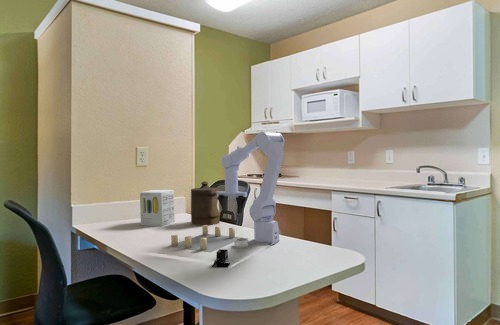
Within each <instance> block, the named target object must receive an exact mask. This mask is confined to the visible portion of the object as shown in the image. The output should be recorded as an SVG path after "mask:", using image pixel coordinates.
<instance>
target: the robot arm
mask: <svg viewBox="0 0 500 325" xmlns="http://www.w3.org/2000/svg"><path fill="white" fill-rule="evenodd" d="M285 142H286V140H285V138H284V136H283V135H282V133H280V132H267V131H266V132H265V131H260V132H258V134H255V136H254V138H253V139H251V141H249V142H248V143H247V144H246V145H244V146H243V145H242V146H241V145H240V146H239V145H238V146H237V147H236V149H235V150H233V151H231V152H230V153H229V154H227V153H226V154H224V155H223V156H222V157H221V165H222V167H223V168H224V191H223V190H222V191H221V190H219V191H218V192H217V196H219V197H217V198H218V200H219V205H220V206H221V210H222V213H223V214H224V213H227V212H228V198H229V197H235V200H236V206H237V210H236V211H237V214H242V212H243V208H244V205H245V202H246V199H247V197H248V192H247V191H239V179H238V178H239V176H238V175H239V174H238V172H239V169H240V168H239V167H240V165H241V163H242V162H243V161H245V160H247V159H248V158H249V156H250V154H251V153H253V152H255V151H256V150H257V149H260V150H261V151H262V152H263V154H264V155H265V156H266V157H267V162H266V166H265V170H264V174H263V178H262V182H261V186H260V191H259V194H258V196H257V197H256V198H254V200H253V202H252V204H251V205H250V207H249V216H250V218H251V219H252V221H253V229H254V230H253V231H254V233H253V234H254V241H255V242H259V243H269V244H267V245H268V246H273V245H274V244H277V243H278V242H280V234H279V232H280V230H279V222H278V221H277V220H274V217H275V215H276V213H277V212H276V211H277V209H276V208H277V207H276V205H277V202H276V200H275V199H274V194H275V191H276V189H277V188H276V187H277V184H278V179H279V176H280V172H281V168H282V164H283V161H284V160H283V159H284V147H285Z"/></svg>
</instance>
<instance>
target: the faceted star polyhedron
mask: <svg viewBox="0 0 500 325" xmlns="http://www.w3.org/2000/svg"><path fill="white" fill-rule="evenodd" d="M233 247H234V248H238V249H239V248H240V249H242V248H248V247H249V238H248V237H247V238H246V237H243V238H236V239H235V240H234V242H233Z"/></svg>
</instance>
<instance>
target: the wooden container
mask: <svg viewBox="0 0 500 325" xmlns="http://www.w3.org/2000/svg"><path fill="white" fill-rule="evenodd" d="M208 185H209V182H208V181H205V180H204V181H202V182H201V186H199V187H195V188H191V189H190V218H191V219H190V220H191V221H190V223H191V224H192V225H194V226H203V225H208V226H213V224H214V225H217V224H219V223H220V202H219V200H218V198H217V197H219V196H217V192H218V191H220V190H219V187H211V186H208Z"/></svg>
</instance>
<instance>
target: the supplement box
mask: <svg viewBox="0 0 500 325" xmlns="http://www.w3.org/2000/svg"><path fill="white" fill-rule="evenodd" d="M139 205H140V207H139V208H140V209H139V210H140V226H148V227H150V226H152V227H164V226H167V225H169V224H172V223H174V222H176V220H175V191H174V189H152V190H150V189H149V190H144V191H140V192H139Z"/></svg>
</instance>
